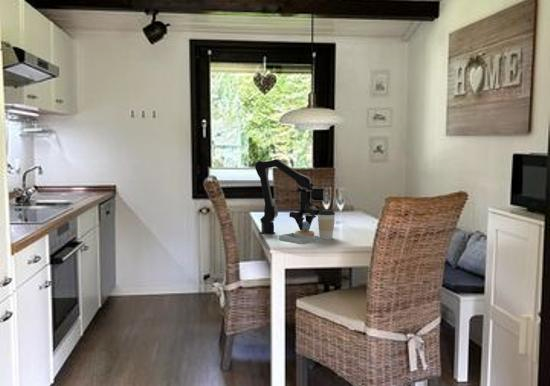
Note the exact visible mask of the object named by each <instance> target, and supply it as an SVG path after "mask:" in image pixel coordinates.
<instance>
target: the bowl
mask: <svg viewBox="0 0 550 386" xmlns="http://www.w3.org/2000/svg"><path fill="white" fill-rule="evenodd" d="M294 233H297V234H303V235H309V236H315V231H314V230H309V231H307V232H303V231H301V230H300V229H299V230H296V231H295V232H294Z"/></svg>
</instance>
